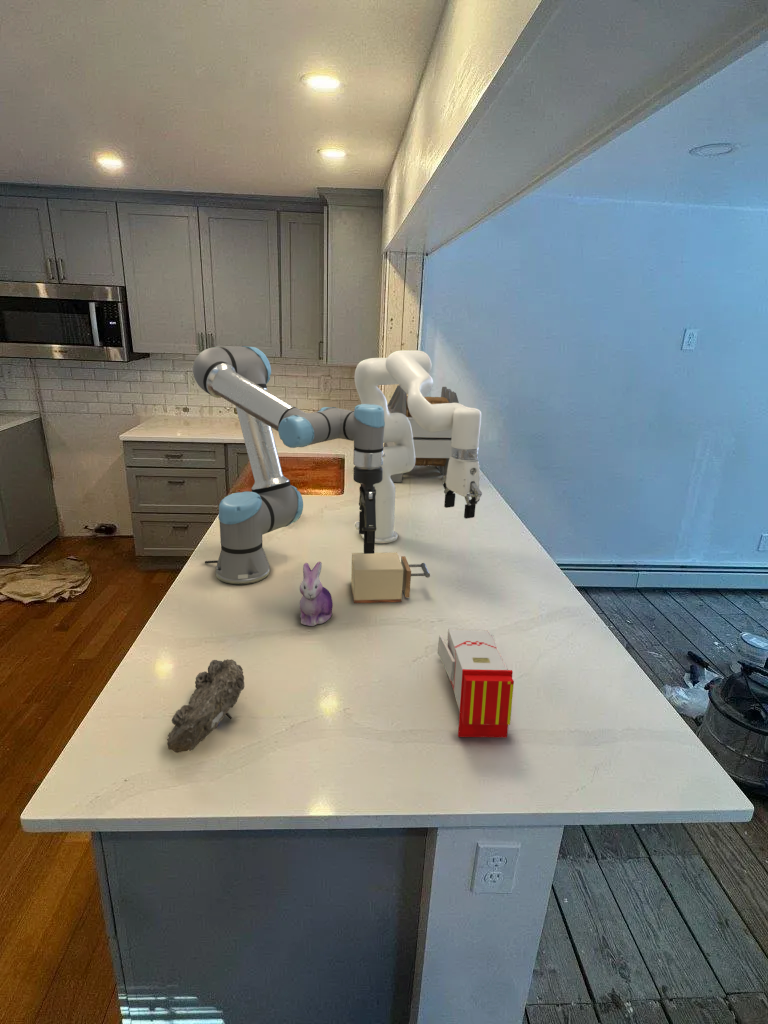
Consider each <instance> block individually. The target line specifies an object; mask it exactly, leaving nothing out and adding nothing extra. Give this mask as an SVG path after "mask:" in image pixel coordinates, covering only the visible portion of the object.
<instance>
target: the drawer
mask: <svg viewBox="0 0 768 1024" xmlns="http://www.w3.org/2000/svg"><path fill="white" fill-rule="evenodd" d="M400 561H401V564H402V567H403V583H402V593H403V595H404V598H406V599H407V598H410V597H411V581H412V580H411V579H412V577H425V578H427V579H428V578H430V577H431V573H430V572H429V569H428V567H427V564H426V563H425V562H421V563H419V564H417V563H416V564H415V563H414V564H409V561H408V559H407V556H405V555H402V556H401V557H400ZM411 568H421V570H422V572H421V573H417V572H416V573H412V570H411Z"/></svg>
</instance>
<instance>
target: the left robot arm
mask: <svg viewBox="0 0 768 1024" xmlns="http://www.w3.org/2000/svg"><path fill="white" fill-rule="evenodd" d="M192 374H193V378H194V381H195V382H196V384H197V385H198V387H199V388H201V390H203V392H205V393H206V394H208V395H210V396H211V397H213V398H217V399H221V398H222V399H223V400H225V401H227V402H229V403H230V404H232V405H234V406H235V409H236V413H237V417H238V421H239V426H240V430H241V433H242V437H243V440H244V444H245V449H246V452H247V457H248V461H249V464H250V465H249V466H250V468H251V472H252V476H253V479H254V483H253V485H252V487H251V488H250V489H251V491H248V490H247V491H246V490H245V491H242V492H240V491H237V492H234V493H231V494H230V493H229V494H228V495H226V496H225V497H224V498H222V499H221V500H220V502H219V504H218V517H217V518H218V520H219V536H220V537H219V540H220V552H219V554H218V555H219V556H218V559H217V560H205V561H204V564H216V566H215V576H216V579H218V581H221V582H223V583H225V584H231V585H250V584H254V583H257V582H260V581H262V580H264V579H266V578H267V577H268V576H269V575H270V572H271V569H270V567H271V566H270V563H269V560H268V558H267V555H266V553H265V550H264V546H263V535H265V534H268V533H271V532H273V531H276V530H279V529H281V528H285V527H286V528H287V527H289V526H290V525H292V524H294V523H296V522H297V521H298V520H300V517H301V516H302V514H303V511H304V499H303V496H302V494H301V492H300V491H299V490H298V488H297V487H295V486H294V485H292V484H291V480H290V479H289V478H288V477H286V476H285V475H284V473H283V469H282V465H281V460H280V457H279V453H278V449H277V445H276V441H275V437H274V433H273V432H274V431H273V430H275V431H276V432H277V433H278V437H279V439H280V440H281V441H282V444H283V445H284V446H286V447H288V448H290V449H295V448H297V449H298V448H305V447H308V446H312V445H315V444H319V443H323V442H329V441H332V440H333V441H334V440H338V439H339V440H340V439H341V440H347V441H352V442H353V457H352V458H353V460H352V461H353V463H352V464H353V465H354V466H353V481H354V482H355V483H357V484H360V486H359V487H358V488H359V489H358V490H359V499H358V506H359V508H358V509H359V512H358V513H359V516H358V517H359V518H358V522H359V529H358V534H359V535H361V534H364V539H363V553H364V554H374V553H375V551H376V550H375V548H376V547H375V546H376V545H375V544H376V543H375V531H376V529H377V528H376V506H375V503H376V500H375V496H376V489H375V486H373V485H374V484H376V483H380V482H381V481H382V479H383V468H382V467H381V466H382V465H383V458H382V457H385V453H383V447H384V443H383V439H384V426H385V422H384V409H383V408H382V407H381V406H379V405H374V404H372V405H371V404H361V403H359V404H356V405H355V406H354V410H350V409H344V408H338V407H336V406H331V407H330V406H322V407H321V408H320V409H319V410H317V411H315V412H305V411H303V410H301V409H300V408H298V407H296V406H294V405H293V404H291V403H289V402H288V401H286V400H284V399H282V398H281V397H279V396H278V395H276V394H274V393H272V392H270V391H269V390H268V387H267V384H269V382H270V381H271V377H270V376H271V375H272V367H271V363H270V361H269V359H268V357H267V356H266V354H265V353H264V352H263V351H262V350H260V349H259V348H258V347H255V346H246V345H240V346H221V347H220V346H215V347H214V346H213V347H208V348H205V349H204V350H202V351H201V352H200V353H199V354H198V355H197V356H196V357H195V359H194V361H193V365H192ZM369 525H373V526H369Z"/></svg>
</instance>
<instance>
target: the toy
mask: <svg viewBox="0 0 768 1024" xmlns="http://www.w3.org/2000/svg"><path fill="white" fill-rule="evenodd" d="M446 640H447V643H446V641H445V639H444V636H443V635H442V634H439V637H438V646H437V656H438V657H439V659H440V661H441V663H442V666H443V668H444V670H445V672H446V674H447V677H448V679H449V681H450V684H451V687H452V690H453V693H454V697H455V701H456V705H457V708H458V711H459V714H458V715H459V716H458V730H457V731H458V732H457V737H458V738H508V731H509V726H510V725H511V717H512V707H513V697H514V696H513V695H514V684H515V680H514V679H513V673H514V671H513V670H512V669H508V667H507V665H506V662H505V661H504V659H503V658H502V655H501V653H500V651H499V649H498V647H497V643H496V639H495V637H494V635H493V634H491V632H490V631H489V629H467V628H466V629H465V628H463V629H461V628H460V629H459V628H448V630H447V639H446Z"/></svg>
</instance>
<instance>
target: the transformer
mask: <svg viewBox="0 0 768 1024" xmlns="http://www.w3.org/2000/svg"><path fill="white" fill-rule="evenodd" d="M440 393H441V394H440V396H425V397H424V398H425V399H426V400H427V401H428V402H429V403H430V404H442V403H460V402H459V398H458V395H457V392H455V391H453V390H452V389H451V388H447V386H442V387H441V392H440ZM407 398H408V394H407V393H406V392H405V391H404V390H403V389H402V388H401V386H400V385H399V384H397V386H396V388H395V390H394V392H393V394H392V395H391V398H390V400H389V402H387V406H388V411H389V413H402V414H404V415H405V416H406V417H407V418H408V420H409V421H410V424H411V428H412V435H413V442H414V449H415V458H416V461H415V466H416V467H417V466H418V467H436V468H437V470H438V469H439V473H440V474H441V475H442V477H443V476H445V475H447V468H448V463H449V459H450V451H451V438H452V430H446V431H437V432H429V431H426V430H424V429H423V428H422V427H421V426H420V425H419V424H418V423H417V422H416V421H415V420H414V419H413V418H412V416H411V414H410V412H409V409H408V404H407ZM387 446H394V443H393V442H386V443H383V447H387ZM415 466H414V467H415ZM403 475H404V473H400V474H394V475H391V476H390V478H391V480H392V481H393V483H402V482H403Z"/></svg>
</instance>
